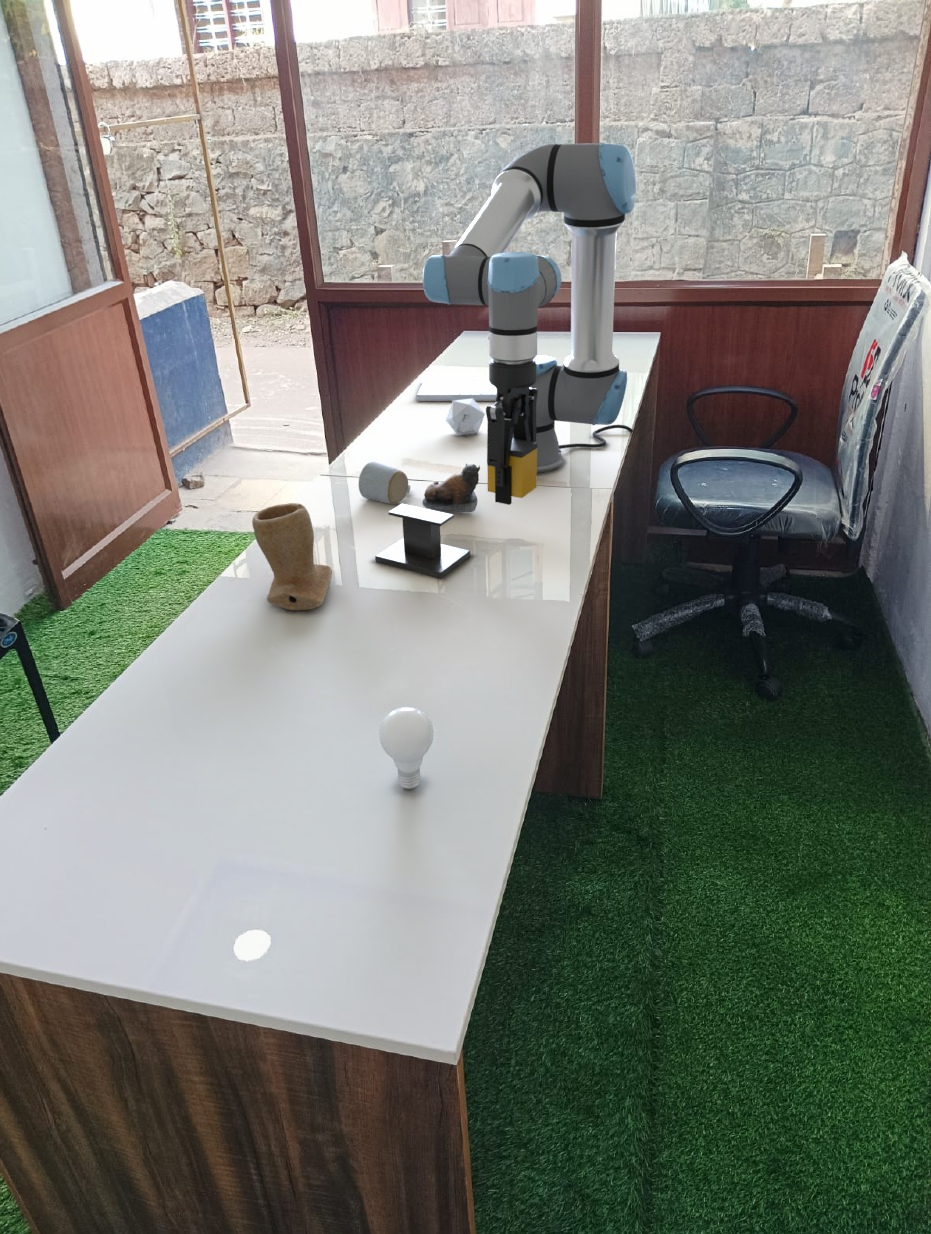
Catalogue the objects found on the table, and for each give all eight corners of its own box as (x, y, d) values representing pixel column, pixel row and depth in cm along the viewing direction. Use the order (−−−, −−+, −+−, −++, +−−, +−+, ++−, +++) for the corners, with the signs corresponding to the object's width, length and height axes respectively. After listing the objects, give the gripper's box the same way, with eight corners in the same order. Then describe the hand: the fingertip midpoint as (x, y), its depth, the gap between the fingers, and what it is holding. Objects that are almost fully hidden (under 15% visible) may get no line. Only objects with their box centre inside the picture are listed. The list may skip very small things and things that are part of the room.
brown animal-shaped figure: (418, 513, 184) (416, 466, 179) (430, 500, 190) (428, 454, 184) (475, 520, 180) (474, 471, 175) (485, 506, 186) (485, 459, 181)
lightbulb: (383, 770, 114) (377, 697, 108) (434, 767, 114) (430, 694, 109) (383, 805, 108) (377, 730, 103) (437, 801, 109) (433, 726, 103)
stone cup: (271, 573, 162) (259, 493, 155) (337, 572, 162) (329, 493, 154) (250, 615, 149) (237, 531, 142) (323, 615, 149) (313, 530, 141)
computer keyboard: (571, 382, 264) (571, 377, 264) (572, 401, 248) (572, 395, 247) (423, 382, 268) (423, 376, 267) (415, 400, 252) (415, 394, 251)
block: (503, 481, 158) (503, 436, 154) (536, 487, 155) (537, 442, 152) (487, 491, 154) (487, 445, 150) (521, 498, 151) (522, 451, 147)
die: (439, 436, 228) (446, 411, 219) (451, 409, 232) (458, 384, 223) (471, 448, 228) (479, 424, 219) (482, 422, 232) (491, 397, 223)
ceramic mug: (391, 510, 185) (389, 474, 182) (358, 503, 189) (356, 467, 185) (420, 493, 193) (418, 459, 190) (388, 487, 197) (386, 452, 193)
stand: (406, 541, 173) (403, 496, 168) (470, 556, 166) (469, 510, 162) (375, 561, 165) (371, 515, 161) (441, 578, 159) (439, 531, 154)
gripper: (519, 344, 153) (517, 475, 164) (462, 369, 139) (465, 511, 150) (559, 348, 149) (555, 482, 161) (505, 374, 136) (505, 519, 147)
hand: (512, 496), depth 155 cm, fingers closed on block, 5 cm apart
